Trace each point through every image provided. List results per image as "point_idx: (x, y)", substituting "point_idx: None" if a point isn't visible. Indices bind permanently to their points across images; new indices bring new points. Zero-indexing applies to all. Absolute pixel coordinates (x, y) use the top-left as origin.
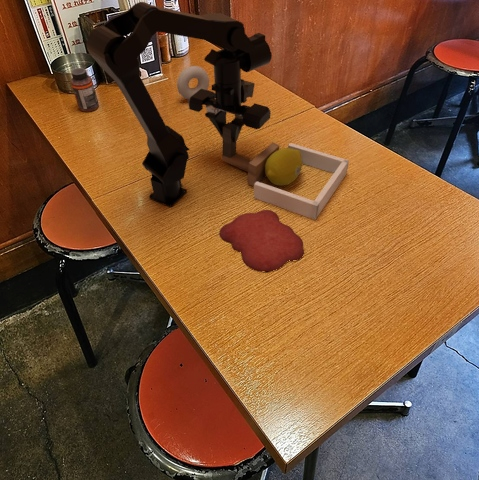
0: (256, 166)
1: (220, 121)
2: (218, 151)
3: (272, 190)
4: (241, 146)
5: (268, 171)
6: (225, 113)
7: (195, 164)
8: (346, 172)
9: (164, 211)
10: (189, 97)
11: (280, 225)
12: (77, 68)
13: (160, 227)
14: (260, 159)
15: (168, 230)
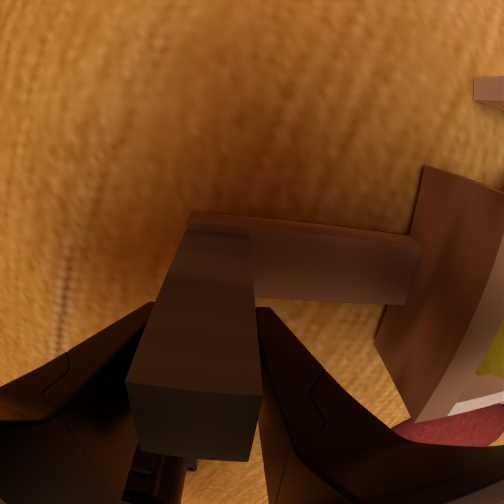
0: (447, 412)
1: (102, 482)
2: (119, 184)
3: (483, 406)
4: (205, 78)
5: (482, 371)
6: (34, 448)
7: (103, 315)
8: None
9: (192, 473)
10: None
11: (480, 422)
12: None
13: (220, 493)
14: (464, 375)
15: (240, 494)
